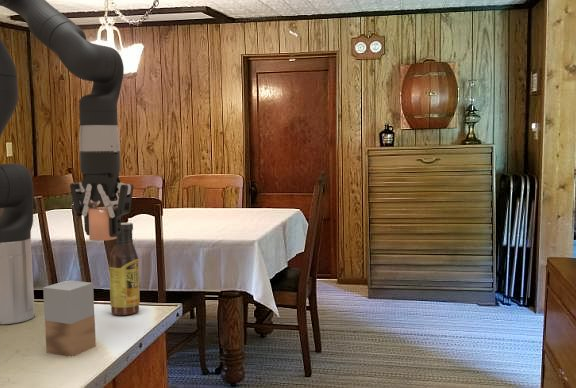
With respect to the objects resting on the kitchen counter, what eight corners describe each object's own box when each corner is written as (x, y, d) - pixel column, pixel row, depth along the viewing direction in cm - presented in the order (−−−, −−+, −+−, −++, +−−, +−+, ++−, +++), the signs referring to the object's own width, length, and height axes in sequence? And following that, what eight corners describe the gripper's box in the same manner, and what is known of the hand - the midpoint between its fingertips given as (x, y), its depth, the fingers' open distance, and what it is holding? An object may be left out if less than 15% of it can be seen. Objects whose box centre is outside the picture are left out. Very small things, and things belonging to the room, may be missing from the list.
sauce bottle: (132, 317, 130) (128, 225, 128) (105, 315, 131) (102, 225, 129) (145, 308, 136) (142, 221, 134) (119, 307, 137) (116, 221, 135)
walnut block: (46, 352, 108) (44, 320, 108) (70, 342, 114) (69, 311, 113) (72, 357, 106) (70, 324, 105) (95, 346, 111) (94, 314, 111)
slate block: (44, 320, 108) (43, 287, 107) (69, 311, 113) (67, 280, 113) (70, 324, 105) (69, 290, 105) (94, 314, 111) (93, 282, 110)
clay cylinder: (83, 239, 117) (82, 209, 117) (101, 236, 122) (100, 206, 121) (105, 241, 115) (104, 210, 115) (122, 237, 120) (121, 207, 119)
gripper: (57, 149, 116) (60, 236, 118) (117, 149, 111) (120, 240, 112) (84, 148, 123) (87, 231, 125) (142, 148, 117) (144, 234, 119)
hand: (103, 235), depth 118 cm, fingers closed on clay cylinder, 5 cm apart
